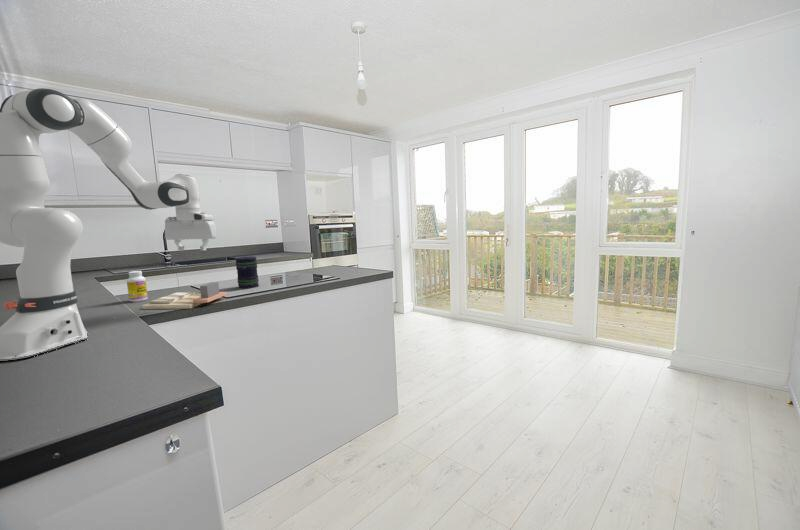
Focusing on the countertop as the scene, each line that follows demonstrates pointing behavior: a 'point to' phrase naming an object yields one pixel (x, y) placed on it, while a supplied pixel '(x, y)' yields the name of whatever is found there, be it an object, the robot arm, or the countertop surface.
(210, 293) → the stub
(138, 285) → the supplement bottle
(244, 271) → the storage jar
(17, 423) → the countertop surface
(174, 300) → the ticket board
